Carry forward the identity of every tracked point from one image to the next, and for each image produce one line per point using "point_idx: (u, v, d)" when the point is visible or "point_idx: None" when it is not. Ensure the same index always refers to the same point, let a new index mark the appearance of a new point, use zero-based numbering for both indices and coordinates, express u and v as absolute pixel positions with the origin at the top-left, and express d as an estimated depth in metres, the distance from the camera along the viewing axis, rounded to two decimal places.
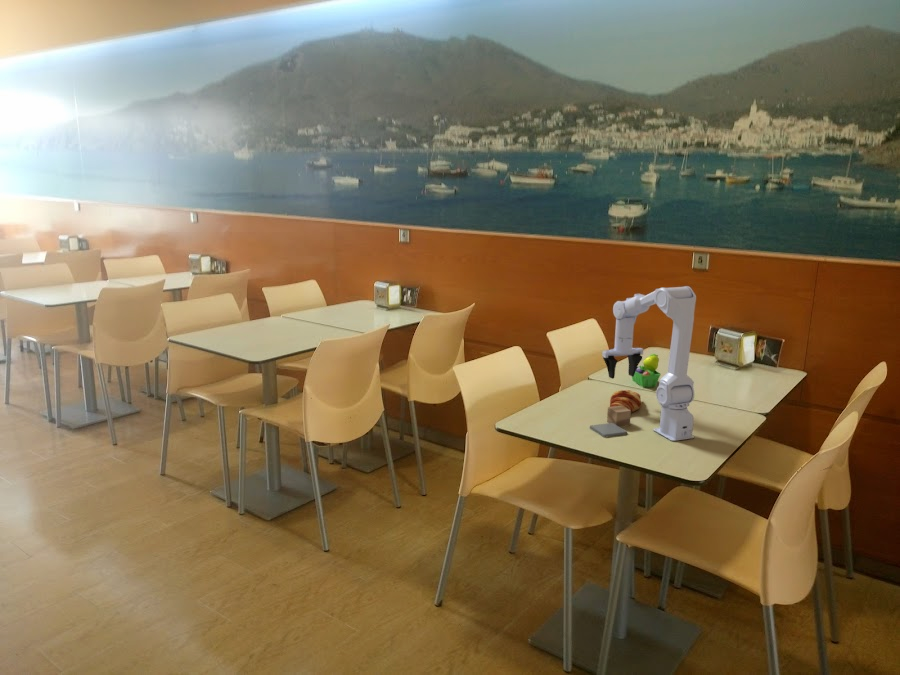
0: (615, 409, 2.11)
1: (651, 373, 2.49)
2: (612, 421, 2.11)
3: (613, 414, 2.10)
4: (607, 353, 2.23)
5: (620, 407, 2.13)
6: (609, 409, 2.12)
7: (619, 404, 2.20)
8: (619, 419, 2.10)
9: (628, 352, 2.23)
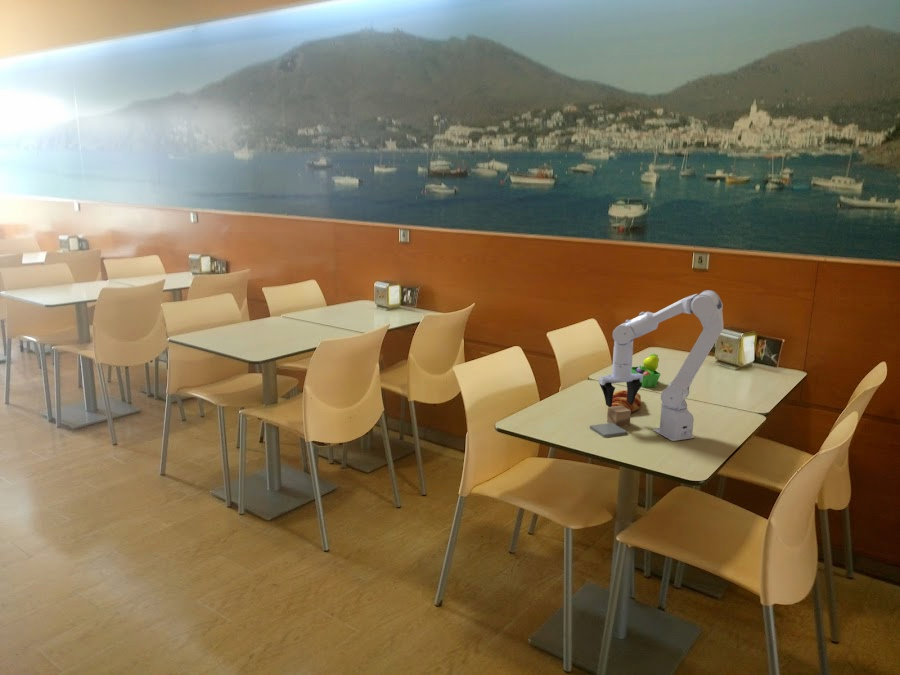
0: (614, 409, 2.11)
1: (651, 373, 2.49)
2: (612, 421, 2.11)
3: (613, 414, 2.10)
4: (604, 380, 2.06)
5: (620, 407, 2.13)
6: (609, 409, 2.12)
7: (619, 404, 2.20)
8: (619, 419, 2.10)
9: (627, 379, 2.07)
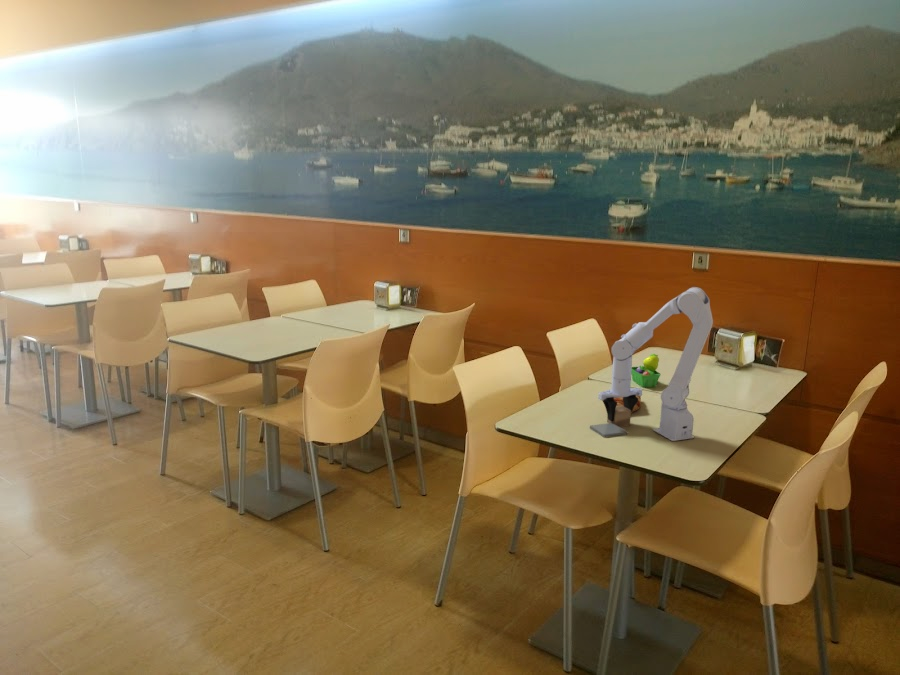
0: (615, 409, 2.11)
1: (651, 373, 2.49)
2: (612, 421, 2.11)
3: None
4: (603, 395, 2.07)
5: (620, 407, 2.13)
6: None
7: (619, 404, 2.20)
8: (619, 419, 2.10)
9: (626, 394, 2.08)
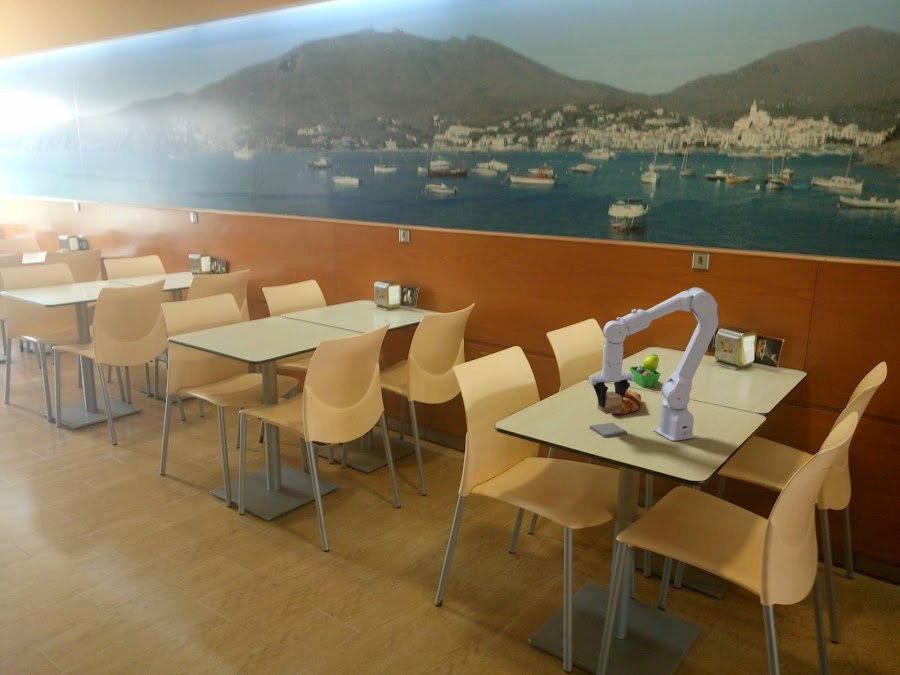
0: None
1: (651, 373, 2.49)
2: (602, 407, 2.04)
3: None
4: (594, 380, 2.00)
5: (611, 393, 2.05)
6: None
7: None
8: (610, 405, 2.02)
9: (617, 379, 2.00)
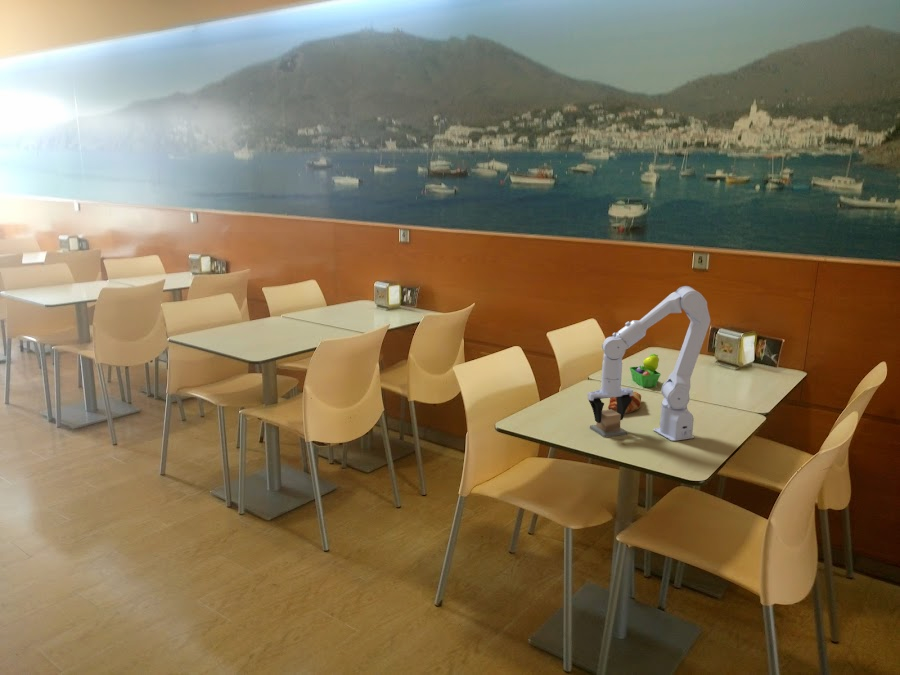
0: (604, 413, 2.04)
1: (651, 373, 2.49)
2: (602, 425, 2.05)
3: (603, 418, 2.04)
4: (593, 395, 2.01)
5: (610, 411, 2.07)
6: None
7: None
8: (609, 424, 2.03)
9: (616, 394, 2.01)
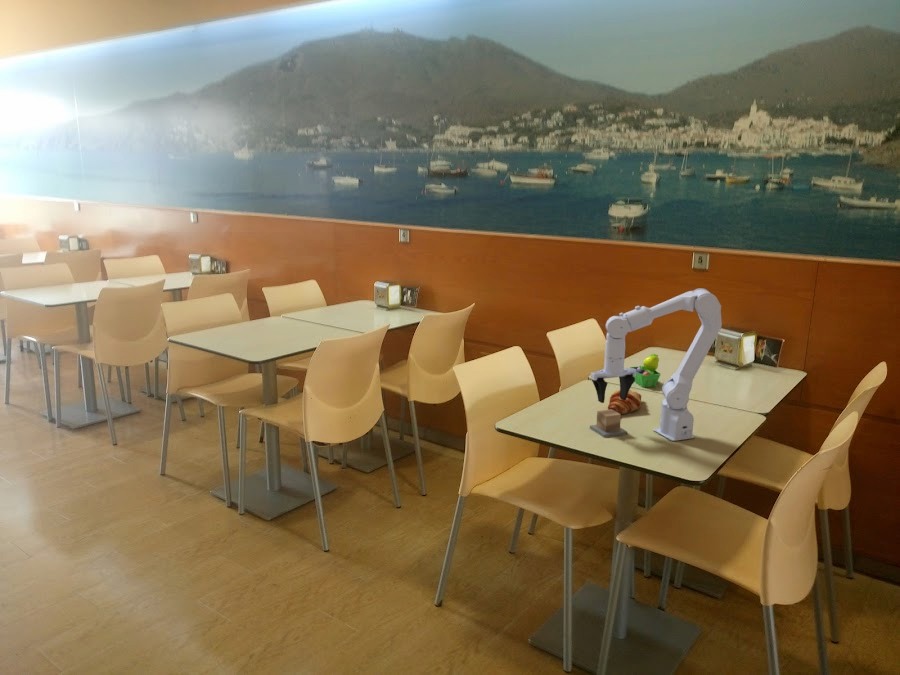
0: (604, 413, 2.04)
1: (651, 373, 2.49)
2: (602, 425, 2.05)
3: (603, 418, 2.04)
4: (596, 375, 2.00)
5: (610, 411, 2.07)
6: (598, 413, 2.06)
7: (618, 403, 2.20)
8: (609, 424, 2.03)
9: (619, 374, 2.00)
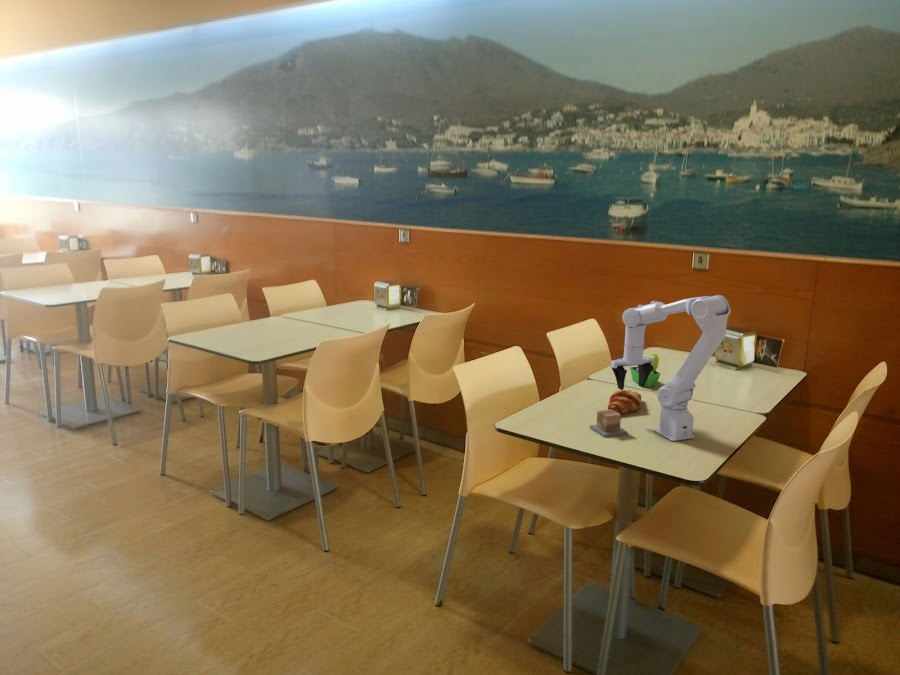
0: (604, 413, 2.04)
1: (651, 373, 2.49)
2: (602, 425, 2.05)
3: (603, 418, 2.04)
4: (616, 363, 2.09)
5: (610, 411, 2.07)
6: (598, 413, 2.06)
7: (617, 403, 2.20)
8: (609, 424, 2.03)
9: (638, 362, 2.10)
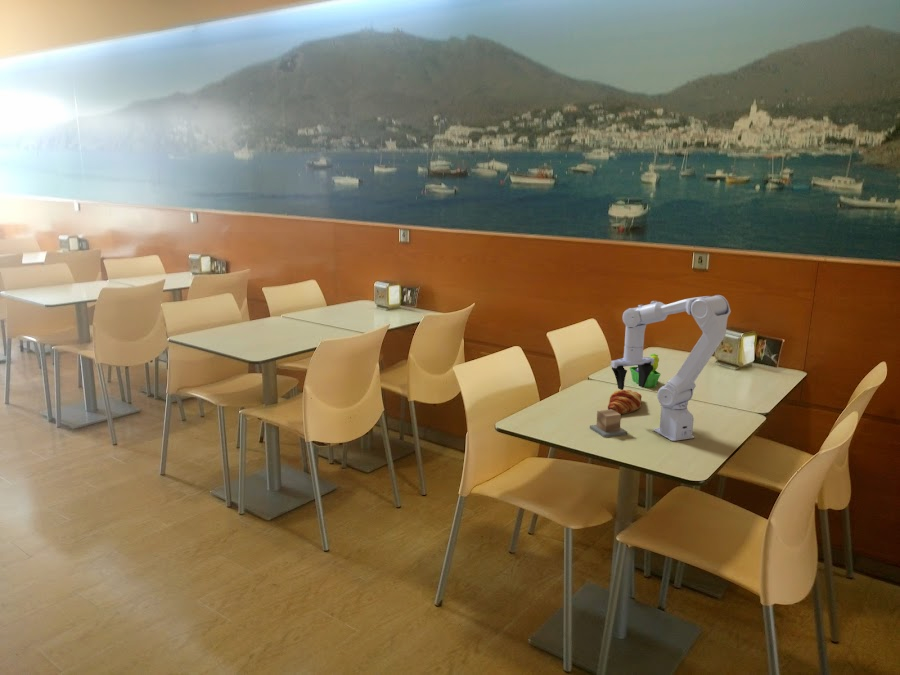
0: (604, 413, 2.04)
1: (651, 373, 2.49)
2: (602, 425, 2.05)
3: (603, 418, 2.04)
4: (616, 363, 2.09)
5: (610, 411, 2.07)
6: (598, 413, 2.06)
7: (617, 403, 2.20)
8: (609, 424, 2.03)
9: (638, 362, 2.10)
